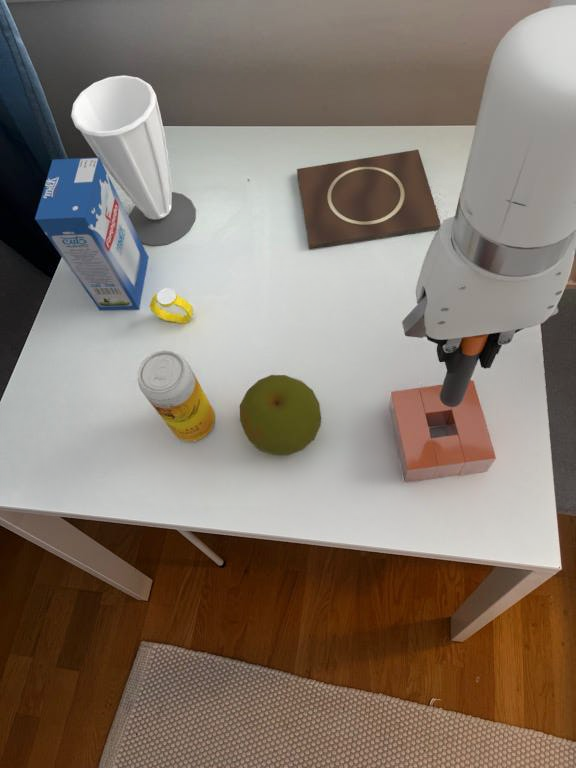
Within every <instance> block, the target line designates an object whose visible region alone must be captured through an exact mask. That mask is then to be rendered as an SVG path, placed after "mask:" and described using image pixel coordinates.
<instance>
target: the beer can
mask: <svg viewBox="0 0 576 768" xmlns="http://www.w3.org/2000/svg"><path fill="white" fill-rule="evenodd" d="M137 384H138V387H139V390H140V391H141V393H142V394H143V396H144V397H145V398H146V399H147V401H148V402H149V403H150V404H151V406H152V407H153V408H154V410H155V411H156V412H157V414H158V415H159V417H160V418H161V419H162V420H163V422H164V423H165V424H166V426H167V427H168V428H169V429H170V431H171V432H172V434H173V435H174V436H175V437H176V438H177V439H179V440H181V441H183V442H190V443H191V442H198V441H200V440H202V439H204V438H205V437H207V436H208V435H209V434H210V433H211V431H213V428H214V427H215V424H216V423H215V422H216V414H215V411H214V408H213V407H212V405H211V402H210V401H209V399H208V397H207V394H206V393H205V391H204V390H203V388H202V386H201V384H200V382H199V380H198V379H197V377H196V374H195V373H194V371H193V369H192V368H191V365H190V364H189V362H188V360H187V359H186V358H185V357H184V356H182V355H181V354H179V353H177V352H174V351H171V350H159V351H156V352H153V353H151V354H150V355H148V356H147V357H146V358H144V360H143V361H142V362H141V364H140V366H139V369H138V373H137Z"/></svg>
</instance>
